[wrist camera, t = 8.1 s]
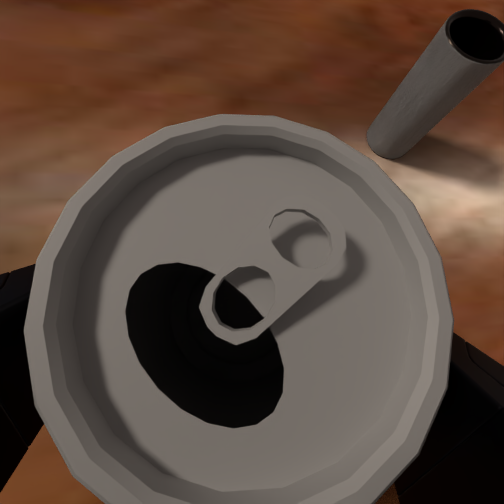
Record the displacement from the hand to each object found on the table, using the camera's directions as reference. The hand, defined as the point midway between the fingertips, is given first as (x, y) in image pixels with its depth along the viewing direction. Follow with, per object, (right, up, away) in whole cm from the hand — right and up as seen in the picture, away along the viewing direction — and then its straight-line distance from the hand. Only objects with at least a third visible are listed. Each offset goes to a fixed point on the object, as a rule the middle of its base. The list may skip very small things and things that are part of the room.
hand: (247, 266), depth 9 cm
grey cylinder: (+14, +12, +18) cm, 26 cm away
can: (-1, -3, +6) cm, 7 cm away
